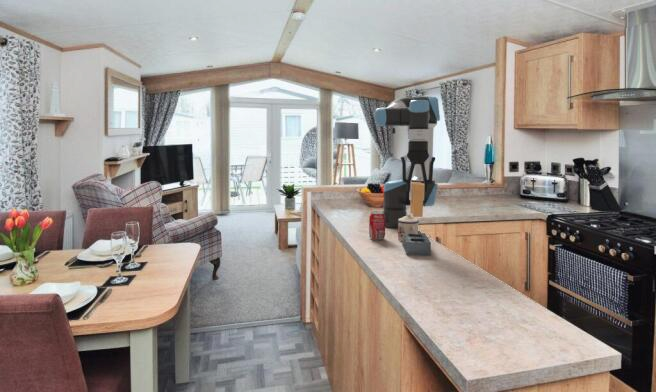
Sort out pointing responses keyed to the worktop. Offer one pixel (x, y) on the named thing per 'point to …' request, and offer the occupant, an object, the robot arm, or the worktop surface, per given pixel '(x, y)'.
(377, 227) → the soda can
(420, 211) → the peach eraser-shaped slab
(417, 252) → the gray slotted block
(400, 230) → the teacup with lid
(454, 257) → the worktop surface
